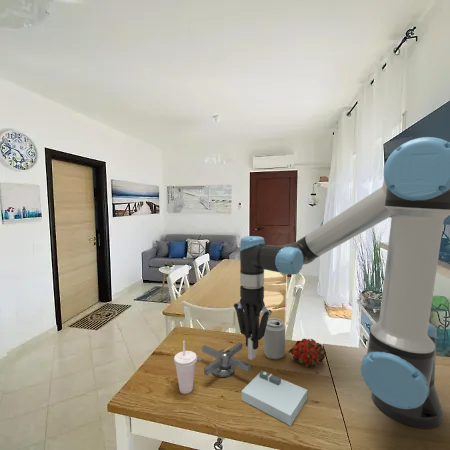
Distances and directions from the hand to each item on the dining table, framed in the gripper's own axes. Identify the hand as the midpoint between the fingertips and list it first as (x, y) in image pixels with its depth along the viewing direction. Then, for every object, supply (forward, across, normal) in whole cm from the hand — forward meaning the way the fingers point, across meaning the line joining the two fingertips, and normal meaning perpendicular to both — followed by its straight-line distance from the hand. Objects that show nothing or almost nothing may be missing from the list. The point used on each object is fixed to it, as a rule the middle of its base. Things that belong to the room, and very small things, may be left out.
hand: (252, 357), depth 85 cm
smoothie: (+4, +10, +20) cm, 23 cm away
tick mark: (+4, +17, +7) cm, 18 cm away
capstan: (+4, +6, +7) cm, 10 cm away
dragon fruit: (+4, -13, -13) cm, 19 cm away
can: (+4, -2, -11) cm, 12 cm away
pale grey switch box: (+3, -12, +8) cm, 15 cm away
